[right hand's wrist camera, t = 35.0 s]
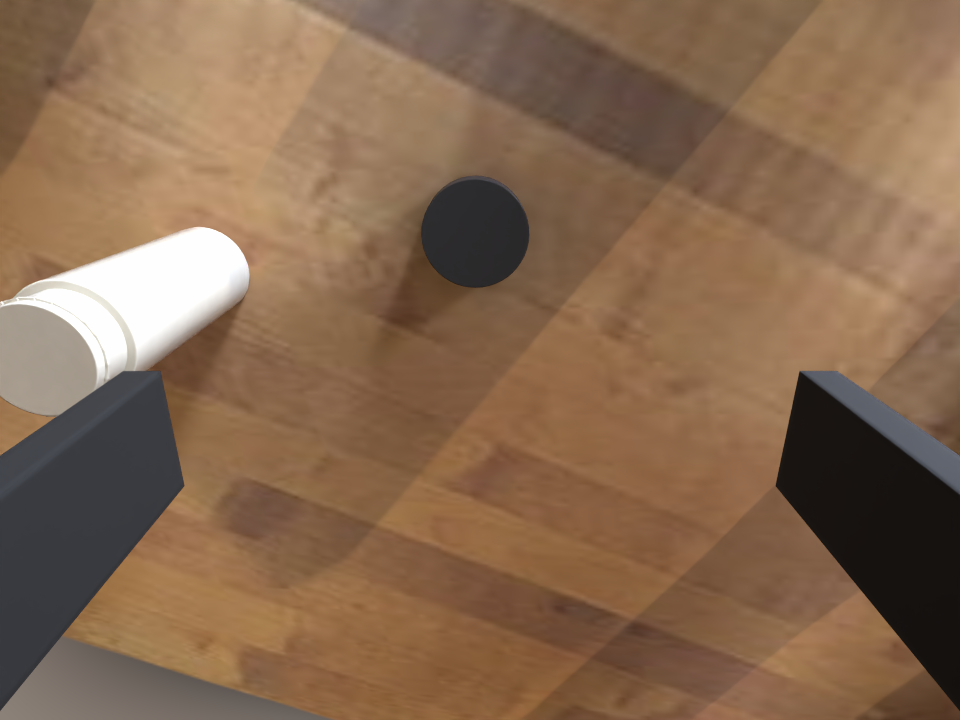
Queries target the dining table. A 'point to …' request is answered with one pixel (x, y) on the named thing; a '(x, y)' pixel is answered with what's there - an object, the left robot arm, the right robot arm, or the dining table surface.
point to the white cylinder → (114, 317)
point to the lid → (475, 232)
